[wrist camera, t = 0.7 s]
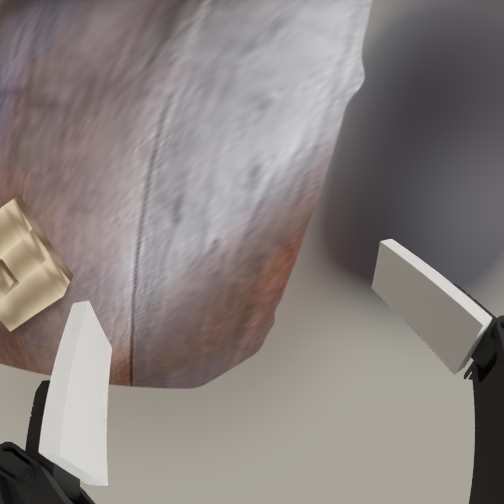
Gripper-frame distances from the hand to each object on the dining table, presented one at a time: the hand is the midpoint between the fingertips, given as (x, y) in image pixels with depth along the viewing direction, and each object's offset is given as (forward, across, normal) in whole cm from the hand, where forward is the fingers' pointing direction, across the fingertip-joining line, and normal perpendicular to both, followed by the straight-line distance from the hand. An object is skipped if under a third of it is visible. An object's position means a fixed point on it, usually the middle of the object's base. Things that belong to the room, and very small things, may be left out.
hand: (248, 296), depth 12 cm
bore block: (+30, -32, -8) cm, 45 cm away
